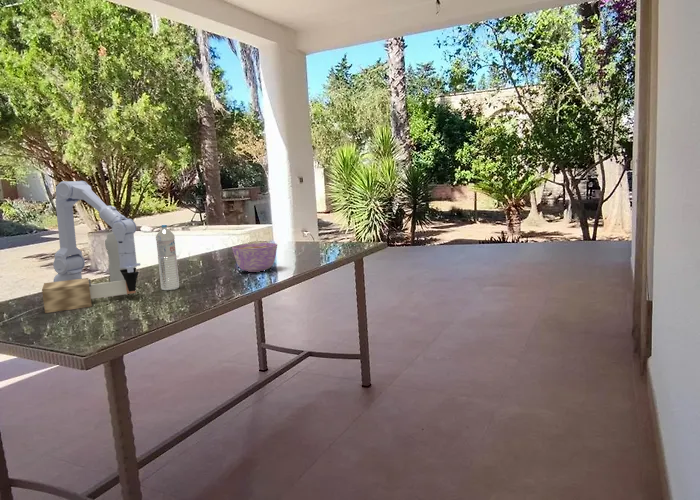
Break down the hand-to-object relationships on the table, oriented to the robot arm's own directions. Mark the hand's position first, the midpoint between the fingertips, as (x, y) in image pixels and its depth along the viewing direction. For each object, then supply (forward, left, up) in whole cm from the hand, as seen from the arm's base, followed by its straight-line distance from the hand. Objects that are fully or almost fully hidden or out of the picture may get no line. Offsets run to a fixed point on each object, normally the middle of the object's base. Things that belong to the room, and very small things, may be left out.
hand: (131, 289), depth 192 cm
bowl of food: (+28, +50, -3) cm, 57 cm away
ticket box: (-16, -13, -3) cm, 21 cm away
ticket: (-6, -5, -1) cm, 8 cm away
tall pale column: (-25, +28, -3) cm, 37 cm away
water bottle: (+7, +14, -3) cm, 16 cm away
